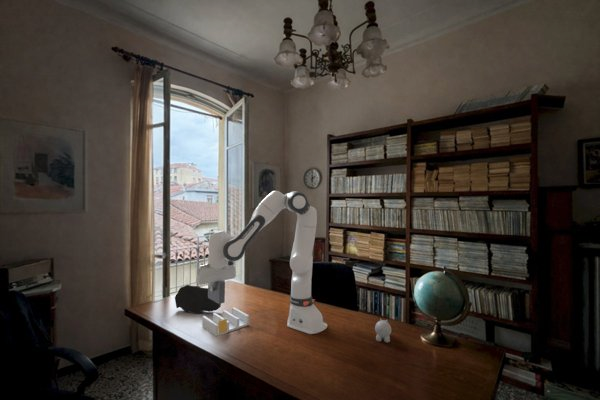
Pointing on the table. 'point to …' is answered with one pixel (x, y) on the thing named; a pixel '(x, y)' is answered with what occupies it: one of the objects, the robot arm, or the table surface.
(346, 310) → the table surface
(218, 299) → the blanking panel
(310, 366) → the table surface
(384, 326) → the toy rhinoceros
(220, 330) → the rack
